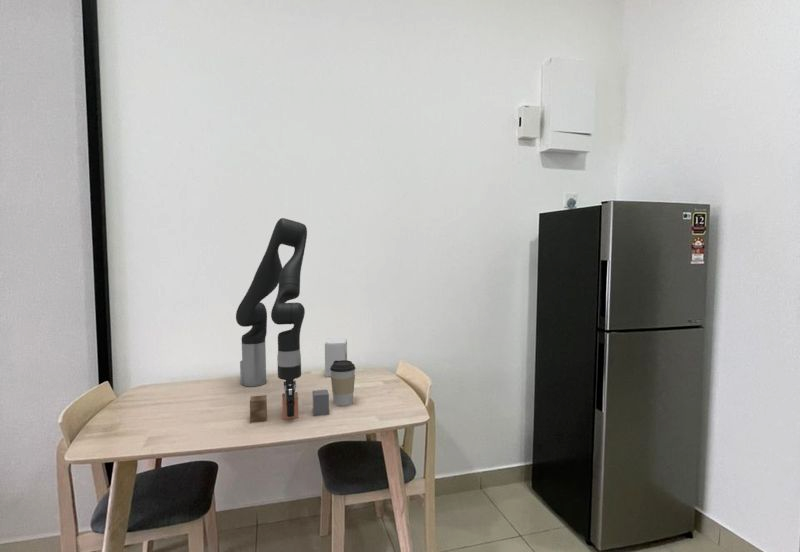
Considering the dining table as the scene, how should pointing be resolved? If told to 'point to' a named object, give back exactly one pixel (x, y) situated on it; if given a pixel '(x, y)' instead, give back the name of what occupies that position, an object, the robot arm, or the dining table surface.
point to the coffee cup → (342, 382)
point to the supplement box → (334, 353)
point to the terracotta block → (286, 406)
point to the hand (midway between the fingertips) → (290, 412)
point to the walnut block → (258, 408)
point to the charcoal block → (320, 402)
